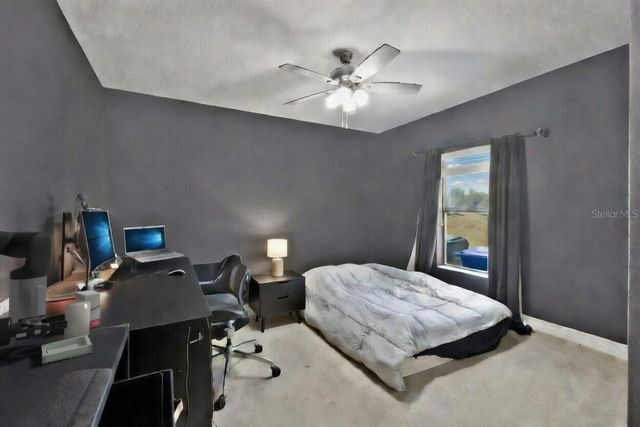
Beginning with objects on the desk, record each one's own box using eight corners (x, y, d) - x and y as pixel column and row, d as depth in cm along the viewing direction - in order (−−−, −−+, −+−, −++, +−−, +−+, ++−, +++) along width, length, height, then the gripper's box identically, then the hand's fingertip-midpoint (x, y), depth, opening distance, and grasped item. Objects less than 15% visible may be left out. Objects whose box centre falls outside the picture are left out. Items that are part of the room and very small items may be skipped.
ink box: (100, 325, 101) (101, 292, 101) (83, 330, 97) (84, 295, 97) (90, 321, 106) (91, 289, 106) (74, 325, 101) (74, 292, 102)
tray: (41, 352, 80) (41, 344, 80) (87, 342, 87) (87, 334, 87) (42, 365, 73) (42, 356, 73) (91, 352, 80) (92, 344, 80)
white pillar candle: (62, 339, 89) (64, 303, 90) (87, 334, 93) (88, 300, 94) (64, 344, 85) (66, 307, 86) (90, 339, 89) (92, 303, 90)
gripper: (-18, 328, 71) (68, 313, 83) (-12, 315, 81) (64, 303, 93) (-19, 358, 71) (67, 339, 82) (-13, 341, 81) (64, 326, 92)
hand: (66, 320), depth 88 cm, fingers open, 8 cm apart
